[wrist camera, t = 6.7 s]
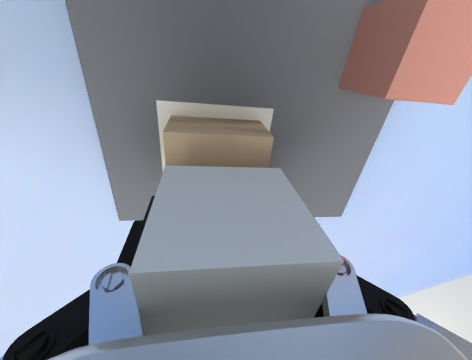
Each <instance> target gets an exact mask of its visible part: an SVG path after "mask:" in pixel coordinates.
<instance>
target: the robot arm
mask: <svg viewBox="0 0 472 360" xmlns="http://www.w3.org/2000/svg"><path fill="white" fill-rule="evenodd" d="M154 197H155V196H152V197H151V200H150V203H149V206H148V208H147V211H146V214H145V217H144V220H135V221H134V223H133V225H132V228H131V230H130V232H129V235H128V237H127V240H126V242H125V244H124V247H123V249H122V252H121V254H120V256H119V259H118V261H117V263H115V264H111V265H108V266H106V267H104V268H103V269H101V270H100V271H99V272H98V273H97V274H96V275H95V276H94V277H93V279H92V281H91V285H90V290H88V291H87V292H85V293H83V294H82V295H80V296H79V297H77V298H76V299H74V300H73V301H71V302H70V303H68V304H67V305H65V306H64V307H62V308H61V309H59V310H58V311H56V312H55V313H53V314H52V315H50V316H49V317H47V318H45V319H44V320H42V321H41V322H39V323H38V324H36V325H35V326H33V327H32V328H30V329H29V330H27V331H26V332H25V333H23V334H22V335H21V336H19V337H18V338H17V339H16V340H15V341H14V342H13V343H12V344H11V345H10V347H9V348H8V350H7V351H6V353H5V354H4V356H3V357H1V358H0V360H472V343H470V342H468V341H467V340H465V339H463V338H461V337H459V336H457V335H456V334H454V333H452V332H450V331H448V330H447V329H445V328H443V327H441V326H439V325H437V324H436V323H434V322H432V321H430V320H428V319H426V318H424V317H423V316H421V315H419V314H416V315H413V313H412V311H411V310H410V308H409V307H408V306H407V305H406V304H405V303H404V302H403V301H401V300H400V299H398V298H397V297H395V296H393V295H392V294H390V293H388V292H386V291H384V290H382V289H381V288H379V287H377V286H375V285H373V284H372V283H370V282H368V281H366V280H364V279H362V278H361V277H359V276H357V275H356V273H355V270H354V267H353V265H352V264H351V263H350V262H349V261H348V260H347V259H346V258H345V257H343V256H341V255H340V256H341V257H342V259H343V260H344V262H343V264H342V266H341V268H340V270H339V271H338V273H337V275H336V277H335V279H334V281H333V283H332V284H331V286H330V288H329V290H328V292H327V293H326V295H325V297H324V298H323V300H322V303H321V305H320V307H319V309H318V311H317V312H316V314H315V316H314V318H307V319H296V320H286V321H276V322H266V323H257V324H247V325H237V326H228V327H218V328H209V329H200V330H191V331H181V332H172V333H163V334H155V335H147V336H145V335H144V331H143V327H142V322H141V316H140V312H139V308H138V307H137V303H136V299H135V295H134V292H133V288H132V284H131V280H130V276H129V271H130V268H131V265H132V262H133V259H134V257H135V254H136V251H137V248H138V245H139V242H140V239H141V236H142V233H143V230H144V227H145V224H146V221H147V218H148V215H149V212H150V209H151V206H152V203H153V200H154Z"/></svg>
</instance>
